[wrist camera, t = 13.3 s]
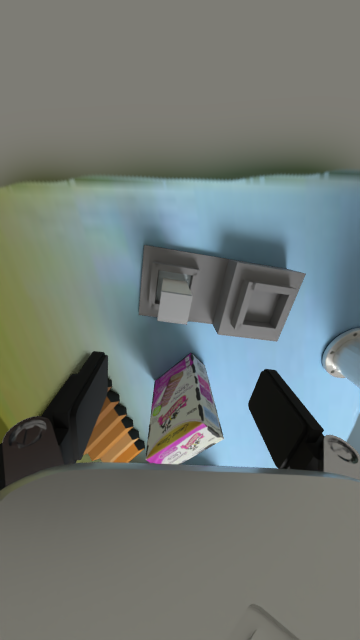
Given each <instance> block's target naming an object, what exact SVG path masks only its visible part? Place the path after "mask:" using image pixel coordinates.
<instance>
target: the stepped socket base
mask: <svg viewBox="0 0 360 640" xmlns="http://www.w3.org/2000/svg"><path fill="white" fill-rule="evenodd" d="M305 275H306V274H305V273H301V272H297V271H293V270H289V269H285V268H279V267H273V266H267V265H261V264H255V263H249V262H243V261H237V260H231V259H225V258H219V257H213V256H207V255H202V254H196V253H190V252H184V251H178V250H172V249H166V248H160V247H154V246H148V245H144V255H143V267H142V280H141V293H140V305H139V315H144V316H152V317H158V313H159V305H160V298H161V291H162V283H163V278H169V279H175V280H181V281H187V284H188V286H189V289H190V291H191V293H192V296H193V297H192V302H191V307H190V312H189V317H188V321H192V322H200V323H208V324H213V326H214V328H215V330H216V332H217V334H219V335H227V336H235V337H244V338H252V339H261V340H269V341H278V339H279V336H280V334H281V331H282V329H283V327H284V324H285V322H286V320H287V317H288V315H289V312H290V310H291V308H292V305H293V303H294V301H295V298H296V296H297V293H298V291H299V289H300V286H301V284H302V282H303V279H304V277H305Z"/></svg>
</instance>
